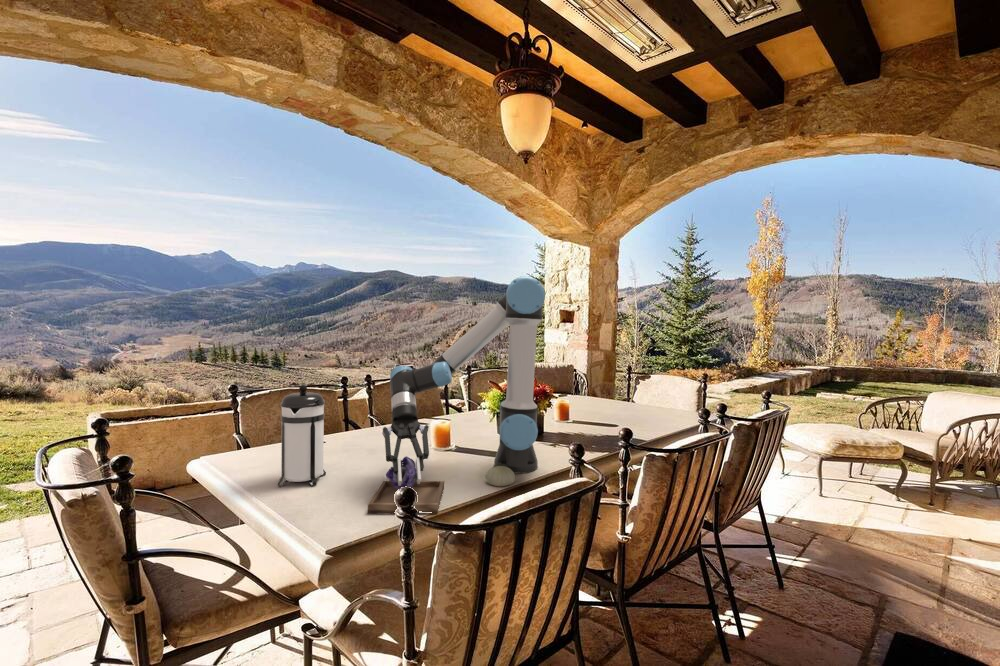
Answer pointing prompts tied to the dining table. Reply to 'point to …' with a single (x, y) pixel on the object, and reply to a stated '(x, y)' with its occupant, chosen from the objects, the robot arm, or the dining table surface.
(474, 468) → the dining table surface
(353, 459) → the dining table surface
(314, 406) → the coffee press
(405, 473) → the amethyst cluster
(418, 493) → the walnut tray
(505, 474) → the sea urchin shell
